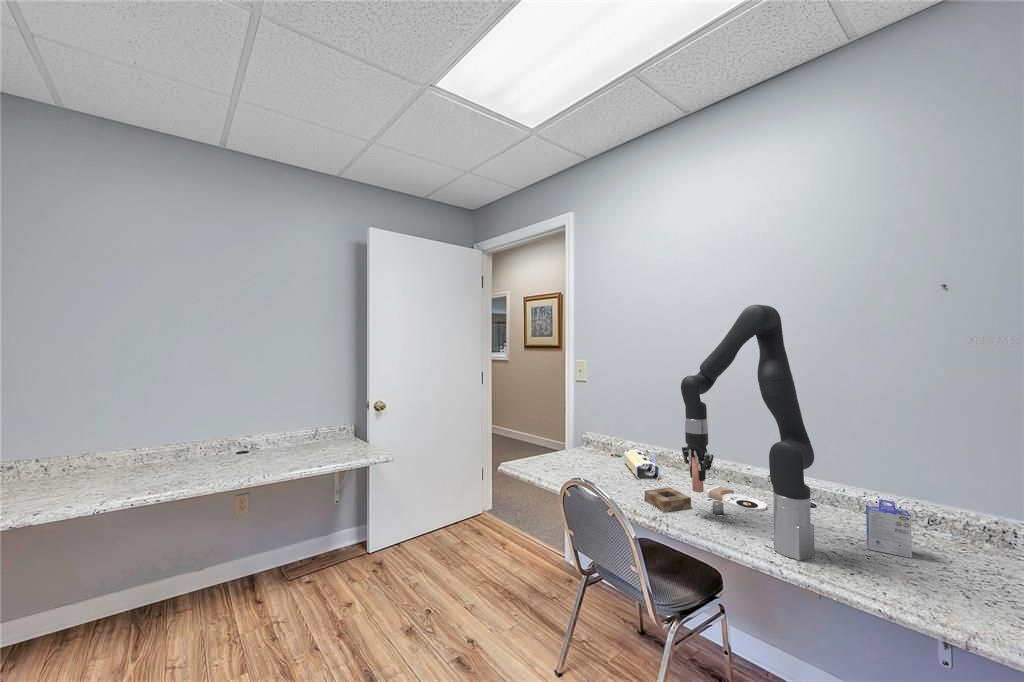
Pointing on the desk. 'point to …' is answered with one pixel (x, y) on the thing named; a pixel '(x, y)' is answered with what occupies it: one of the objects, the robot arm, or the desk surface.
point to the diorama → (640, 461)
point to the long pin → (696, 477)
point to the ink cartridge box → (889, 529)
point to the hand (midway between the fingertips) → (697, 478)
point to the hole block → (667, 499)
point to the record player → (736, 499)
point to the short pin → (718, 508)
